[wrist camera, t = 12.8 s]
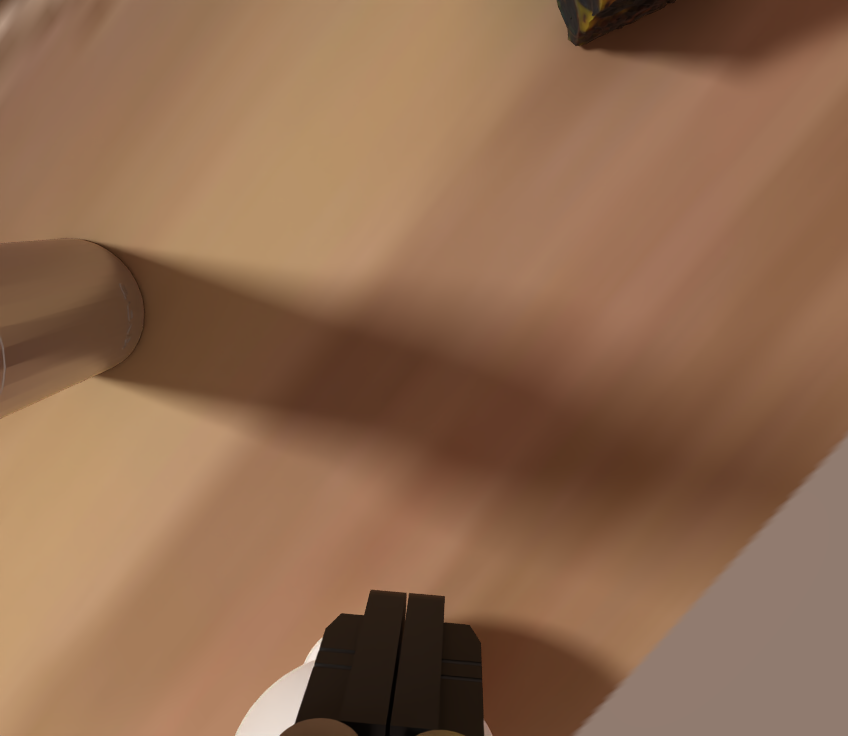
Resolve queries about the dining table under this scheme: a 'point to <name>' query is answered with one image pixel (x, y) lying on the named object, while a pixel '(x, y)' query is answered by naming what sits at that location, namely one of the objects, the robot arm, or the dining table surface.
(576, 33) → the candle
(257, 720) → the decorative vase
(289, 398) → the dining table surface
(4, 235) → the dining table surface
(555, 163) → the dining table surface
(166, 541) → the dining table surface
